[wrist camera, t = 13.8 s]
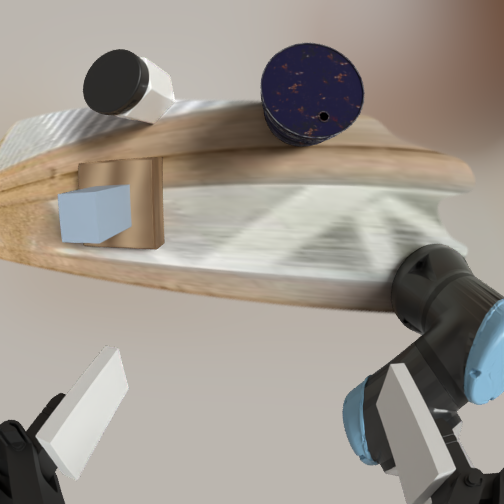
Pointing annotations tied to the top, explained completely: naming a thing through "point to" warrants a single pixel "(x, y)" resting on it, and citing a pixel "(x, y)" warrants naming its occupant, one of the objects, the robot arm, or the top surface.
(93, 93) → the jar
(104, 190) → the slate block
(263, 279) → the top surface
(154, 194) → the base block
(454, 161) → the top surface
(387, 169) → the top surface
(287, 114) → the dark blue upright cylinder
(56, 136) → the top surface
